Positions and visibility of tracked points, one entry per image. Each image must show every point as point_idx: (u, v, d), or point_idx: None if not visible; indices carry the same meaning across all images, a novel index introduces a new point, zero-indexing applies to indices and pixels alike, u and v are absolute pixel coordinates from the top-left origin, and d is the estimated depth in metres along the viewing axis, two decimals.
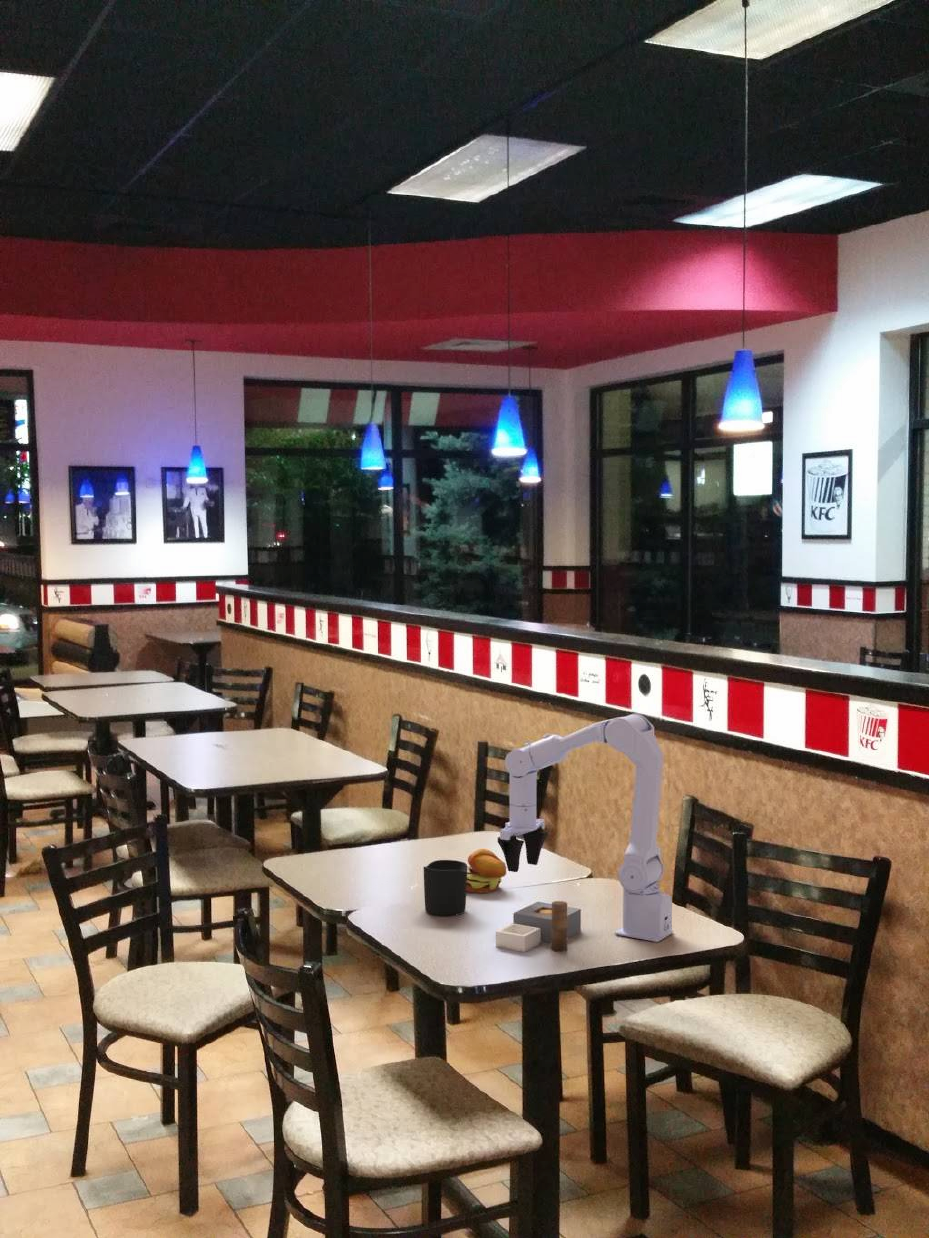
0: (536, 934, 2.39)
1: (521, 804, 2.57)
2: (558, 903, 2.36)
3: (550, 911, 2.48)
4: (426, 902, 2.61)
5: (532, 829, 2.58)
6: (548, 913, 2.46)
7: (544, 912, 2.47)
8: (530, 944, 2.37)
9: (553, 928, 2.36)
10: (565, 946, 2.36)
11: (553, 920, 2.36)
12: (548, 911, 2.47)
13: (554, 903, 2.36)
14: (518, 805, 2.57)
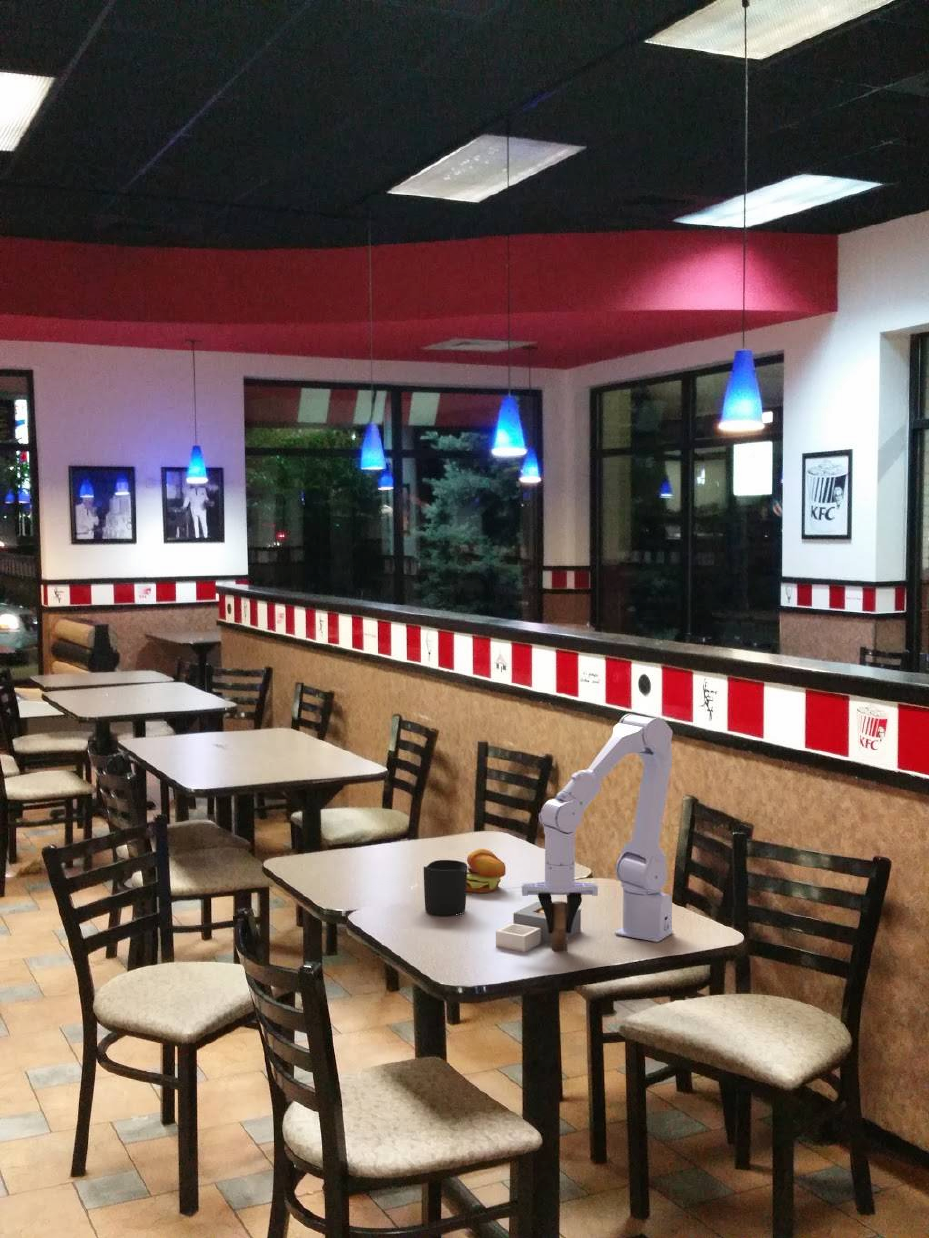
0: (536, 934, 2.39)
1: (572, 861, 2.34)
2: (559, 903, 2.36)
3: None
4: (426, 902, 2.61)
5: (556, 891, 2.33)
6: None
7: None
8: (530, 944, 2.37)
9: (553, 928, 2.36)
10: (565, 946, 2.36)
11: (553, 920, 2.36)
12: None
13: (554, 903, 2.36)
14: (569, 863, 2.34)
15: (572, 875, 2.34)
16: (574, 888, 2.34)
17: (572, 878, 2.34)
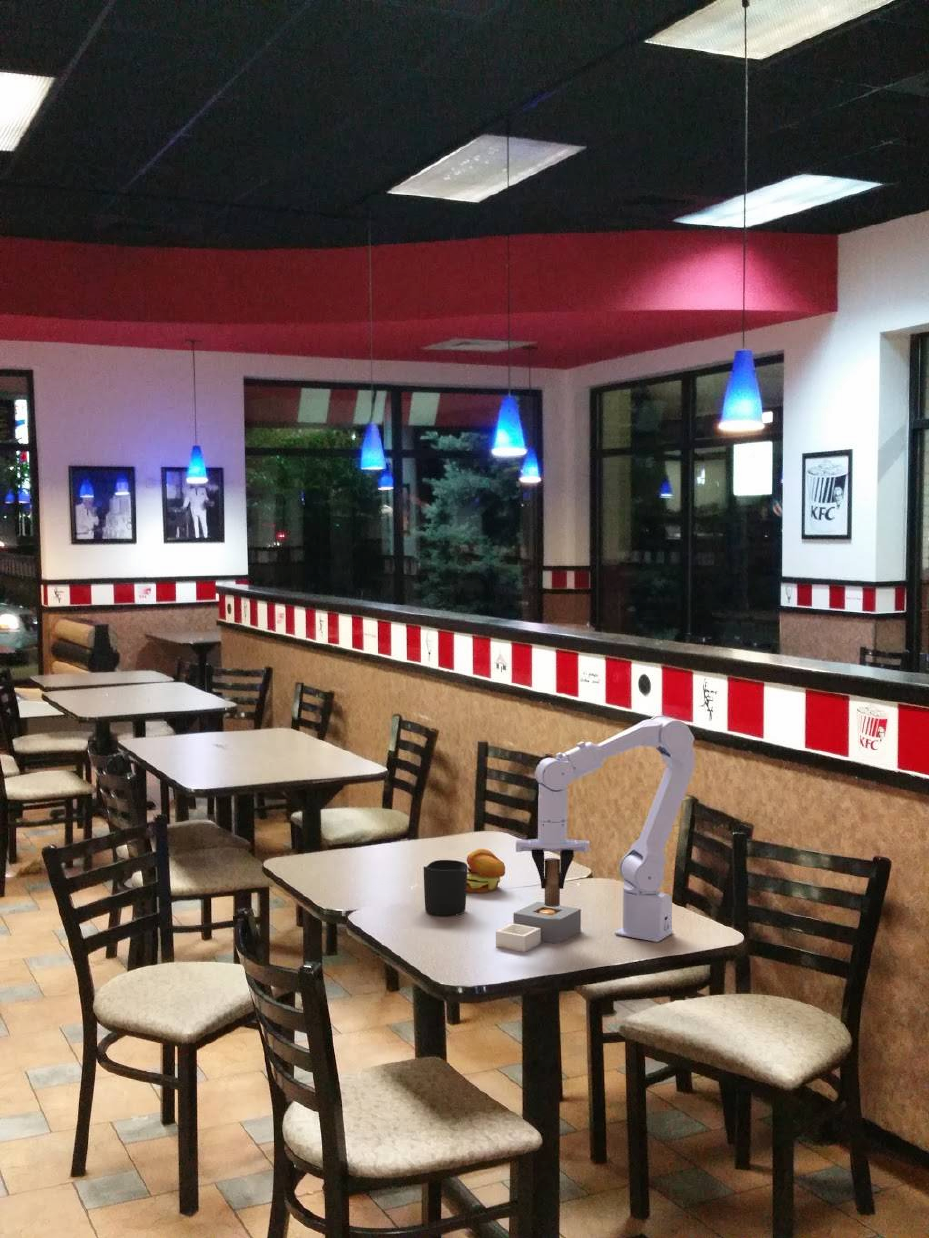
0: (536, 934, 2.39)
1: (561, 819, 2.40)
2: (551, 860, 2.42)
3: (550, 911, 2.48)
4: (426, 902, 2.61)
5: (549, 847, 2.39)
6: (548, 913, 2.46)
7: (544, 912, 2.47)
8: (530, 944, 2.37)
9: (546, 884, 2.42)
10: (558, 901, 2.42)
11: (546, 876, 2.42)
12: (548, 911, 2.47)
13: (547, 859, 2.42)
14: (558, 821, 2.39)
15: (564, 832, 2.40)
16: (566, 844, 2.40)
17: (564, 835, 2.40)
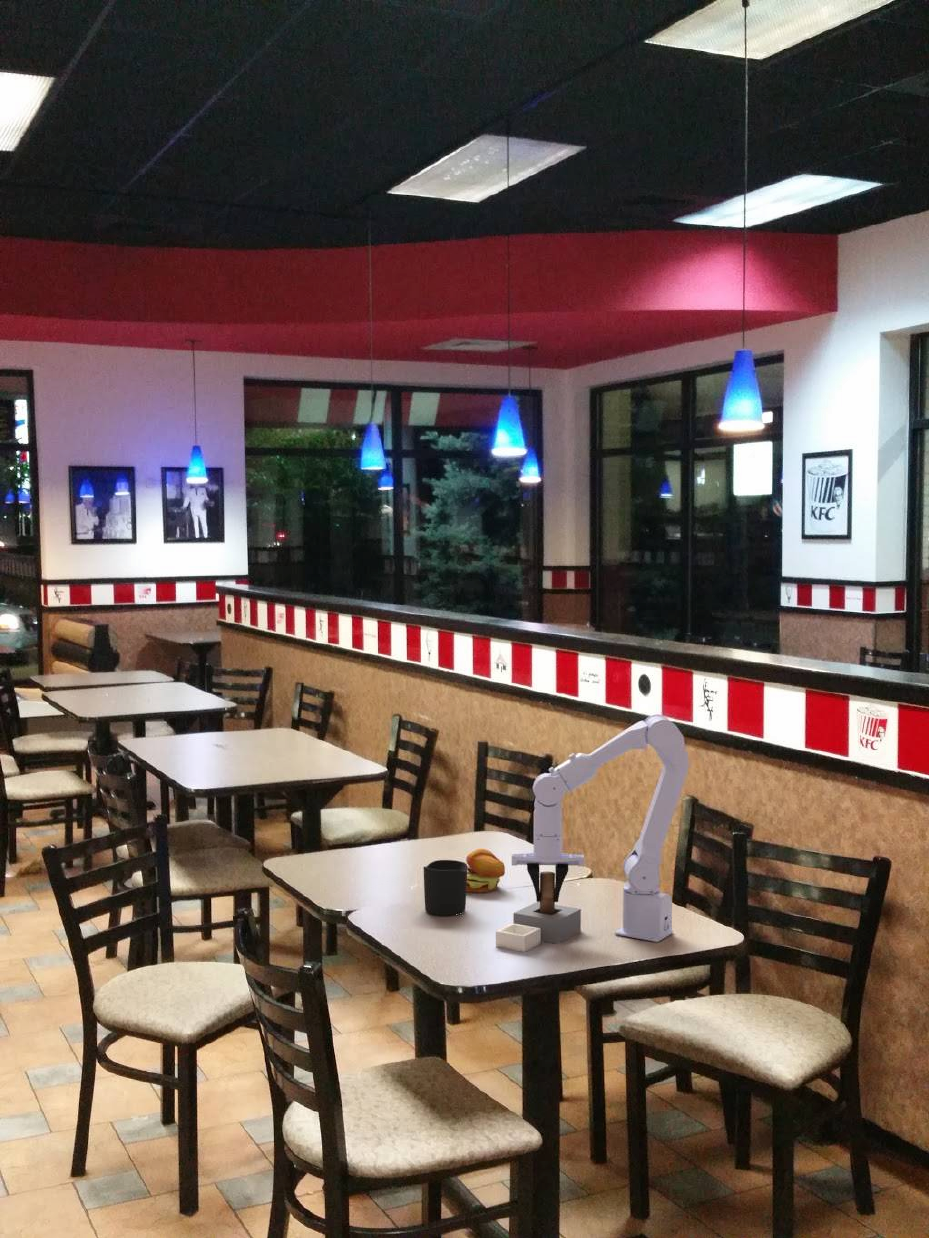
0: (536, 934, 2.39)
1: (553, 834, 2.44)
2: (546, 873, 2.46)
3: None
4: (426, 902, 2.61)
5: (544, 861, 2.44)
6: None
7: None
8: (530, 944, 2.37)
9: (541, 897, 2.46)
10: (552, 914, 2.46)
11: (541, 889, 2.46)
12: None
13: (542, 873, 2.46)
14: (550, 835, 2.44)
15: (559, 846, 2.45)
16: (561, 859, 2.44)
17: (559, 849, 2.45)
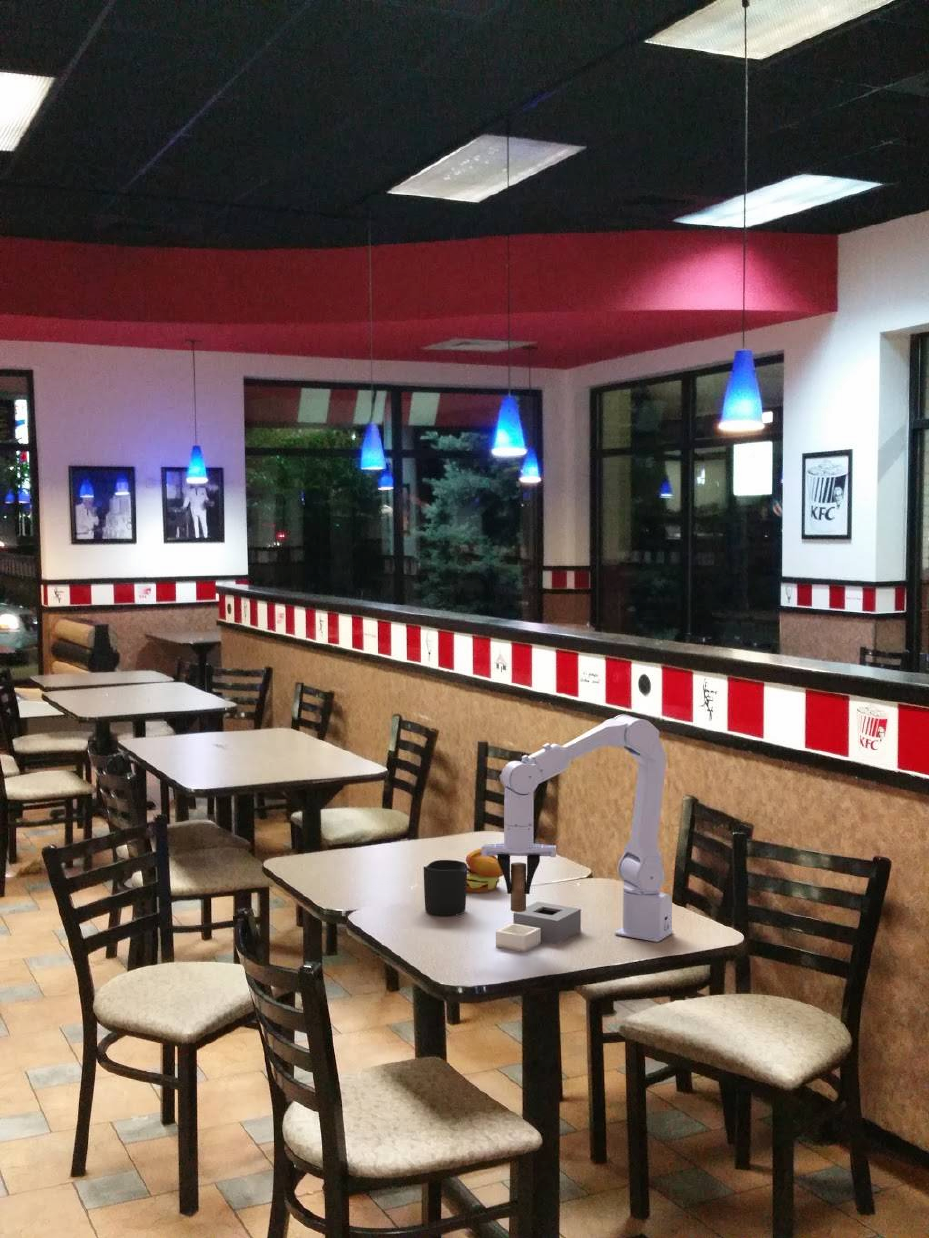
0: (536, 934, 2.39)
1: (528, 823, 2.36)
2: (517, 864, 2.38)
3: None
4: (426, 902, 2.61)
5: (514, 851, 2.36)
6: None
7: None
8: (530, 944, 2.37)
9: (512, 888, 2.38)
10: (524, 907, 2.38)
11: (512, 881, 2.38)
12: None
13: (513, 864, 2.38)
14: (525, 825, 2.36)
15: (530, 836, 2.37)
16: (532, 849, 2.36)
17: (530, 839, 2.37)
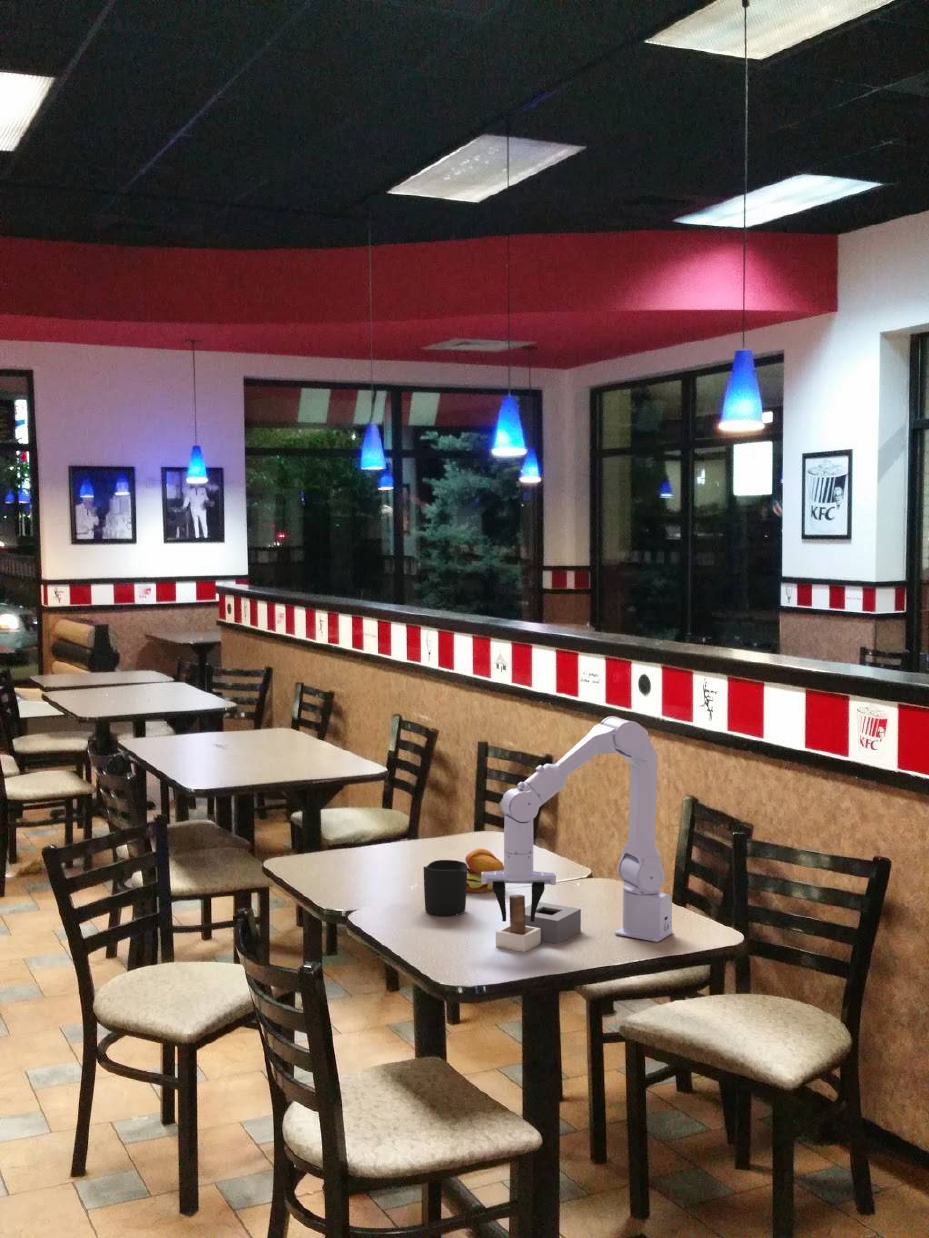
0: (536, 934, 2.39)
1: (528, 851, 2.36)
2: (516, 896, 2.39)
3: None
4: (426, 902, 2.61)
5: (514, 879, 2.36)
6: None
7: None
8: (530, 944, 2.37)
9: (511, 921, 2.38)
10: None
11: (511, 913, 2.38)
12: None
13: (512, 896, 2.39)
14: (525, 853, 2.36)
15: (530, 864, 2.37)
16: (532, 877, 2.36)
17: (530, 867, 2.37)
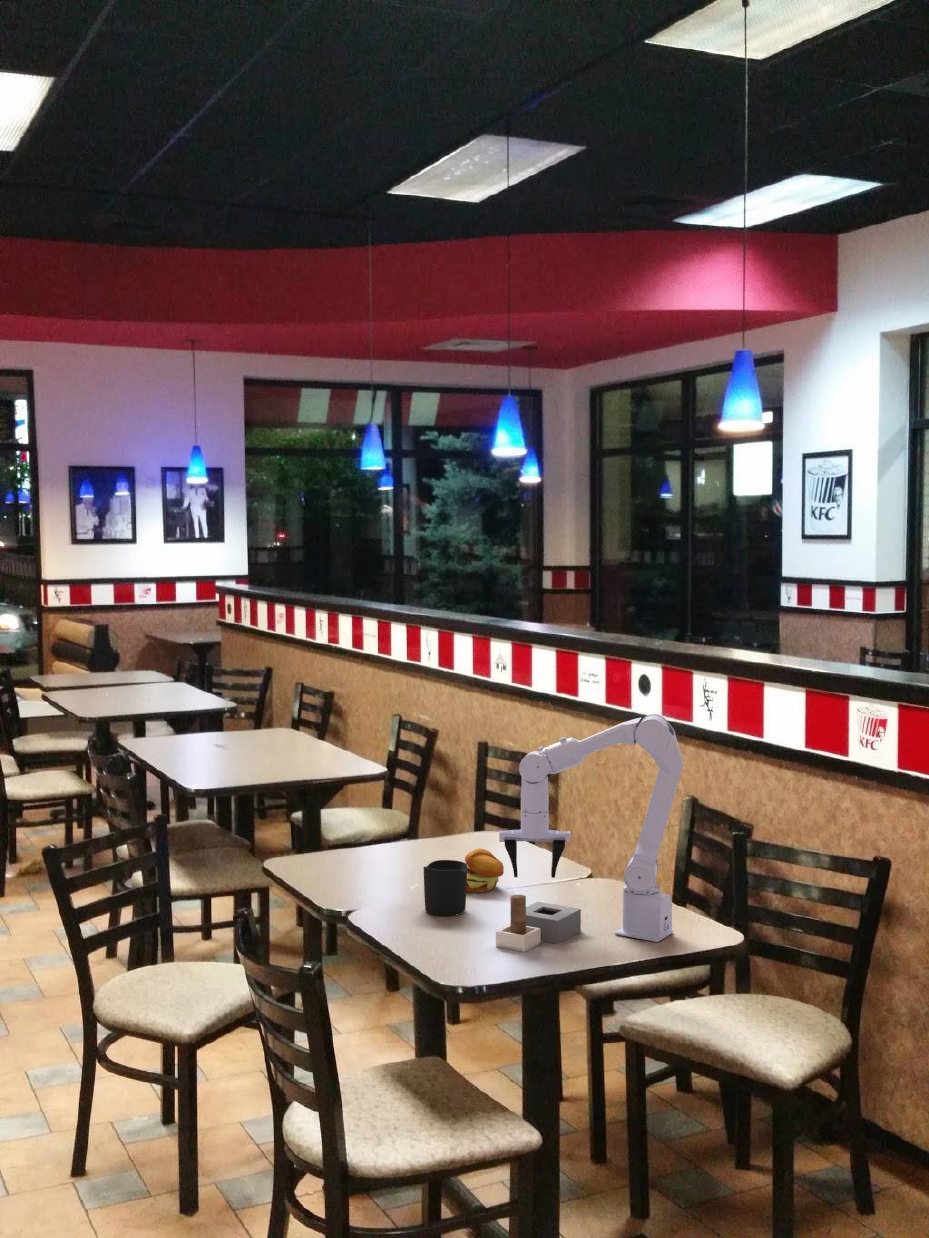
0: (536, 934, 2.39)
1: (537, 811, 2.48)
2: (517, 897, 2.39)
3: None
4: (426, 902, 2.61)
5: (531, 837, 2.48)
6: None
7: None
8: (530, 944, 2.37)
9: (512, 921, 2.38)
10: None
11: (511, 913, 2.38)
12: None
13: (513, 896, 2.39)
14: (534, 812, 2.48)
15: (546, 823, 2.49)
16: (547, 835, 2.49)
17: (546, 825, 2.49)
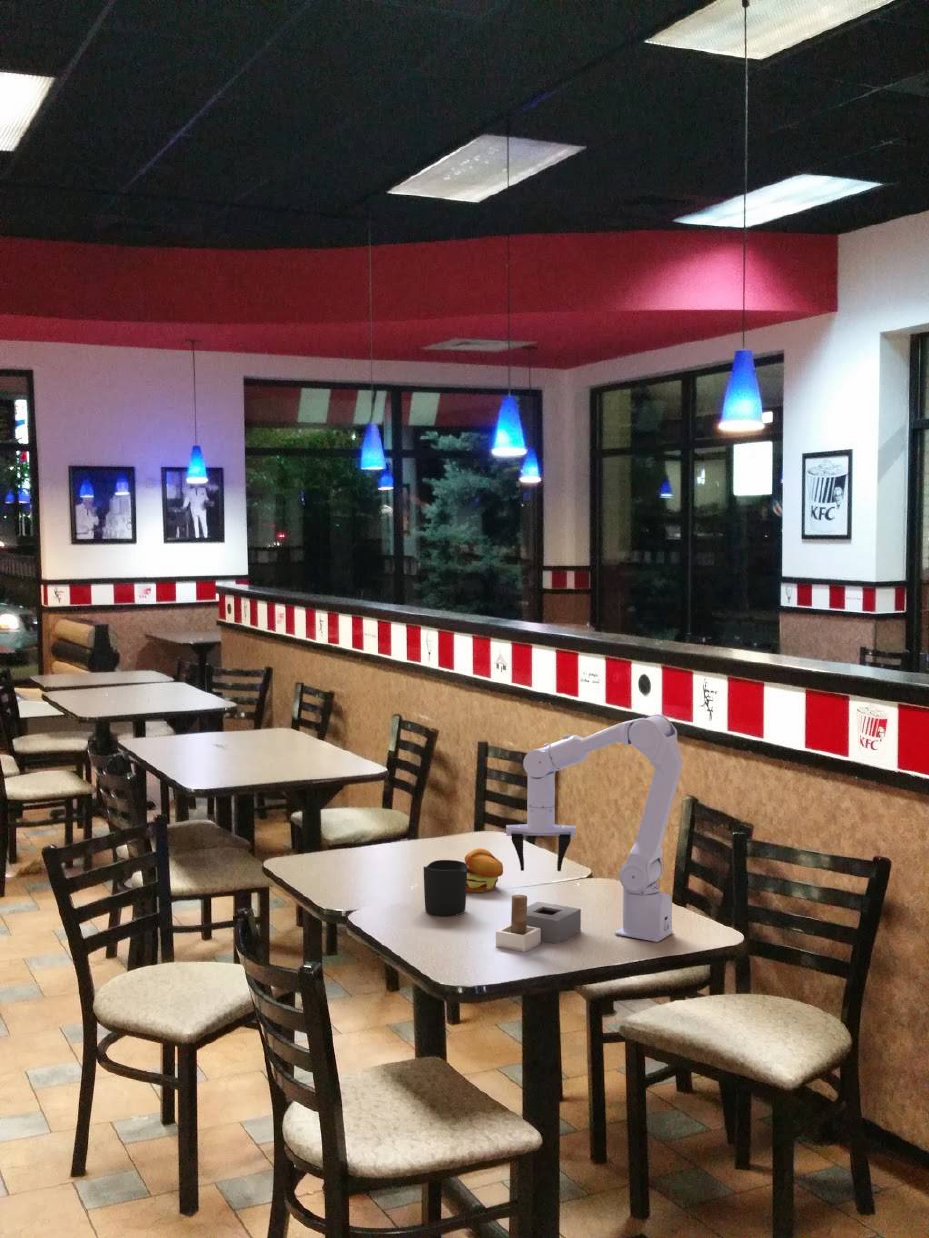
0: (536, 934, 2.39)
1: (540, 805, 2.53)
2: (518, 897, 2.39)
3: None
4: (426, 902, 2.61)
5: (537, 831, 2.53)
6: None
7: None
8: (530, 944, 2.37)
9: (512, 921, 2.38)
10: None
11: (513, 913, 2.38)
12: None
13: (514, 896, 2.39)
14: (537, 806, 2.53)
15: (552, 817, 2.54)
16: (553, 829, 2.54)
17: (552, 820, 2.54)
